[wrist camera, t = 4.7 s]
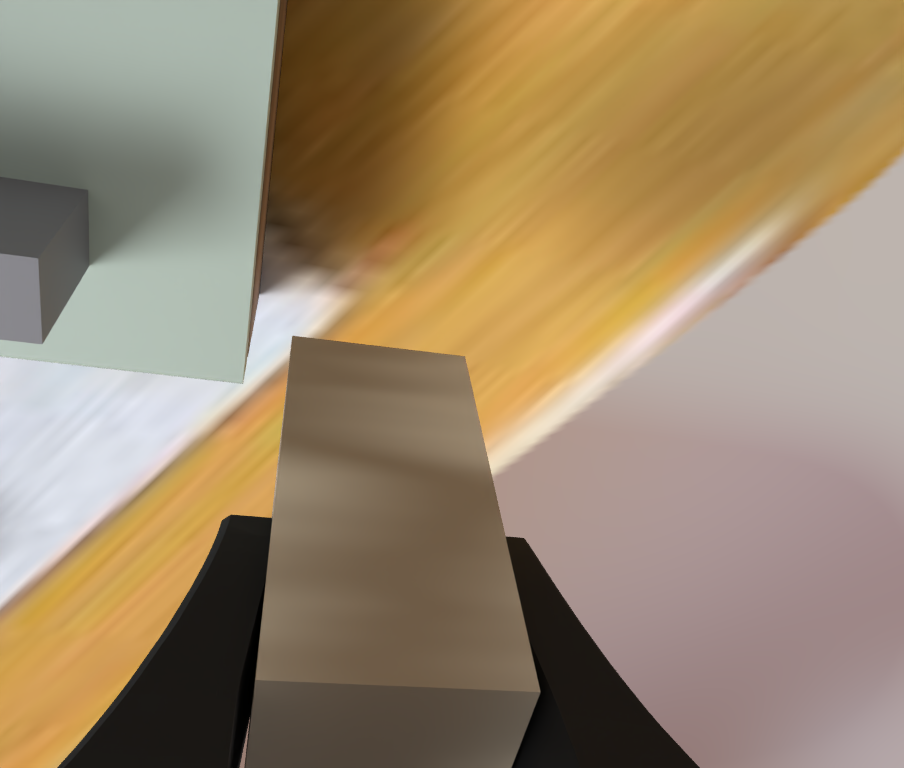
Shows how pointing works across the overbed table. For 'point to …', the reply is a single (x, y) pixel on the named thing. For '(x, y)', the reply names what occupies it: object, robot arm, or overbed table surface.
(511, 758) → the block
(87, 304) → the lid
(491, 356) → the overbed table surface
